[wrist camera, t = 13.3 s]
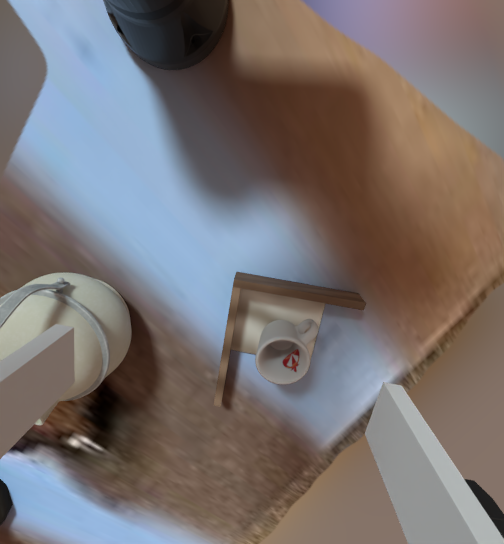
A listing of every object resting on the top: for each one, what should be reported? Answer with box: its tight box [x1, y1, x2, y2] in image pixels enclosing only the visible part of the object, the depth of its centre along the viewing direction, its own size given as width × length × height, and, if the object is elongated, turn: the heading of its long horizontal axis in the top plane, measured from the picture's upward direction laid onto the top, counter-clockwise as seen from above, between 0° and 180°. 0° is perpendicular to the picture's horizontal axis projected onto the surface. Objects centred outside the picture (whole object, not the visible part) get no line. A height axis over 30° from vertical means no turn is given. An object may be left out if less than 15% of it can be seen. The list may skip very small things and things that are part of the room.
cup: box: [256, 319, 319, 385], centre depth 46 cm, size 11×8×8 cm
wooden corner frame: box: [214, 272, 366, 407], centre depth 49 cm, size 23×20×4 cm
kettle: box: [0, 273, 132, 425], centre depth 39 cm, size 25×18×25 cm
